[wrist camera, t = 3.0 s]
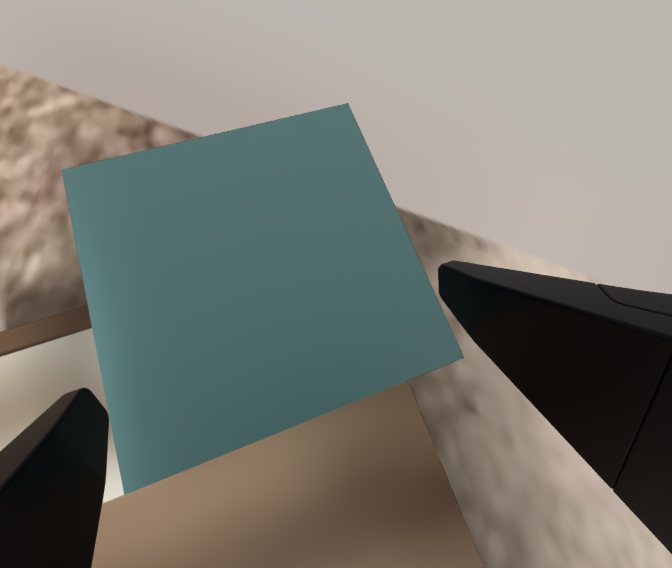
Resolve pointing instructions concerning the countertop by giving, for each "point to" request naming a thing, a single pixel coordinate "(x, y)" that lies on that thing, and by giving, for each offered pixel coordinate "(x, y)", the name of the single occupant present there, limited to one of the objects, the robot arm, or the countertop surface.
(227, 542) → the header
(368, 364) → the plug
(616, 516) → the countertop surface
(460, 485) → the countertop surface
